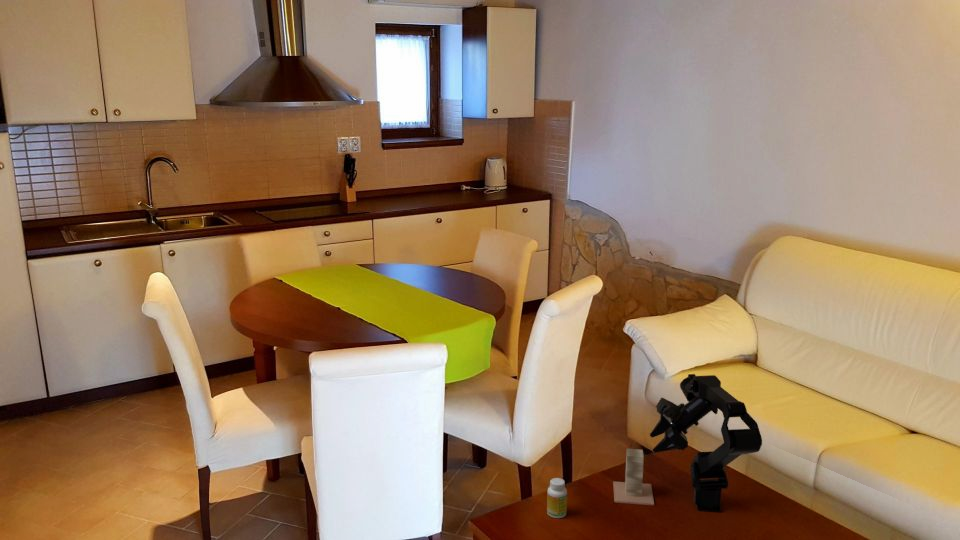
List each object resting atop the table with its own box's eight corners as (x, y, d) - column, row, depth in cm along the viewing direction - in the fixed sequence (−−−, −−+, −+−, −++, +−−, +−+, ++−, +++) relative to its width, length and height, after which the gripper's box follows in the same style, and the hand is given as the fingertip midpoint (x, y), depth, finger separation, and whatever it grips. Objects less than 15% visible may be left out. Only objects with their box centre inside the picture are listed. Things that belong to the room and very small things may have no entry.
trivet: (650, 485, 214) (650, 484, 214) (653, 505, 204) (654, 503, 204) (613, 482, 216) (613, 481, 216) (614, 502, 205) (614, 500, 205)
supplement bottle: (560, 521, 196) (560, 488, 194) (543, 514, 199) (543, 482, 197) (570, 512, 200) (571, 480, 198) (553, 506, 204) (554, 474, 202)
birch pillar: (640, 488, 212) (642, 449, 209) (641, 496, 207) (643, 456, 204) (624, 487, 212) (626, 448, 210) (625, 495, 208) (627, 455, 205)
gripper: (670, 379, 215) (631, 410, 220) (678, 405, 198) (635, 439, 202) (695, 404, 216) (656, 435, 221) (706, 433, 199) (662, 467, 203)
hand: (652, 443), depth 211 cm, fingers open, 9 cm apart
